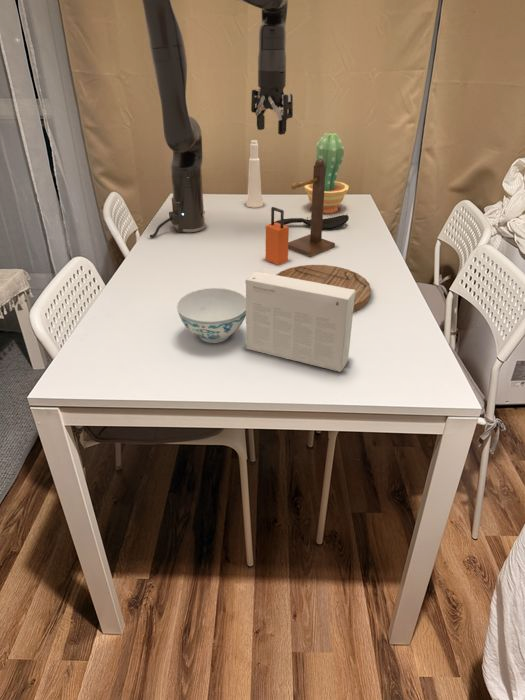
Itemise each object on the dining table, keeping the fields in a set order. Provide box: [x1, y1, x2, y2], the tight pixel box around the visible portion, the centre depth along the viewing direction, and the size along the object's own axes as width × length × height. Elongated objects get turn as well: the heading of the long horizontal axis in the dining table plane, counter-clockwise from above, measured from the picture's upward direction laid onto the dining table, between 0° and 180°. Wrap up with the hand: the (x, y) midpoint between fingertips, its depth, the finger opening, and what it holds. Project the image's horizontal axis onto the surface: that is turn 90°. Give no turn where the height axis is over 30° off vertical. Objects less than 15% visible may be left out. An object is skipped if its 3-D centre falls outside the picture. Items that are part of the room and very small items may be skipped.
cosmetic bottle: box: [246, 139, 264, 209], centre depth 187 cm, size 6×6×22 cm
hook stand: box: [288, 159, 336, 258], centre depth 152 cm, size 14×10×25 cm
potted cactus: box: [304, 132, 350, 214], centre depth 182 cm, size 15×15×25 cm
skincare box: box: [245, 271, 355, 373], centre depth 107 cm, size 21×5×16 cm, turn 65°
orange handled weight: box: [265, 206, 290, 266], centre depth 148 cm, size 4×5×15 cm
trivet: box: [276, 264, 372, 313], centre depth 135 cm, size 25×25×2 cm
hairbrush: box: [274, 214, 350, 231], centre depth 174 cm, size 8×4×25 cm
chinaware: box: [176, 287, 246, 344], centre depth 116 cm, size 15×15×8 cm
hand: (271, 131), depth 154 cm, fingers open, 8 cm apart
